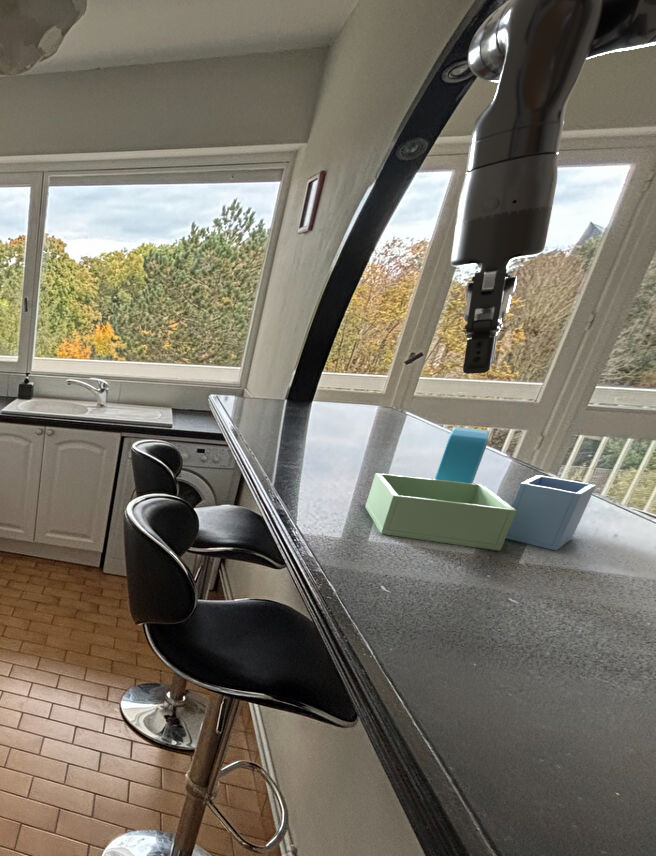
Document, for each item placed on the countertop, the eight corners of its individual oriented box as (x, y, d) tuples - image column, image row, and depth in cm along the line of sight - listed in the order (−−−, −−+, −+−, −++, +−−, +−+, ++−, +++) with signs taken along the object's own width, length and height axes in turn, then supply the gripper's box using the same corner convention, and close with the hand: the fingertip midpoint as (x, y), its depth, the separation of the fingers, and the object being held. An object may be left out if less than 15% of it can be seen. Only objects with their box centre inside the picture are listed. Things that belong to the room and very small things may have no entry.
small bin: (571, 538, 84) (596, 484, 81) (556, 550, 79) (581, 494, 76) (516, 526, 88) (537, 474, 85) (498, 536, 84) (520, 483, 81)
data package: (430, 493, 103) (454, 425, 99) (463, 499, 100) (489, 429, 96) (424, 509, 95) (449, 435, 90) (460, 516, 92) (488, 440, 88)
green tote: (469, 520, 90) (482, 484, 88) (500, 551, 79) (517, 510, 77) (365, 507, 96) (375, 472, 93) (380, 534, 84) (393, 495, 82)
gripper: (555, 196, 55) (523, 373, 60) (551, 209, 65) (523, 361, 70) (450, 216, 61) (428, 378, 65) (461, 225, 70) (441, 366, 75)
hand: (477, 369), depth 68 cm, fingers open, 8 cm apart
